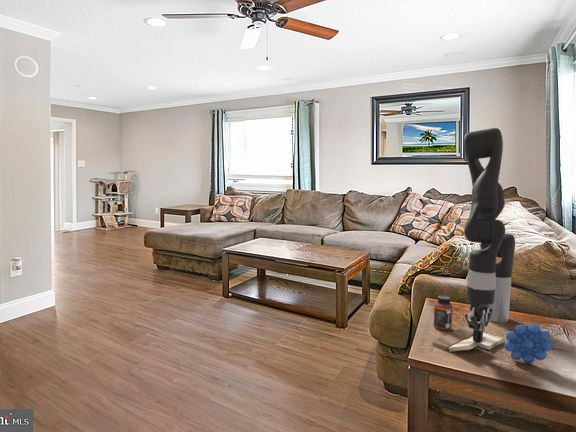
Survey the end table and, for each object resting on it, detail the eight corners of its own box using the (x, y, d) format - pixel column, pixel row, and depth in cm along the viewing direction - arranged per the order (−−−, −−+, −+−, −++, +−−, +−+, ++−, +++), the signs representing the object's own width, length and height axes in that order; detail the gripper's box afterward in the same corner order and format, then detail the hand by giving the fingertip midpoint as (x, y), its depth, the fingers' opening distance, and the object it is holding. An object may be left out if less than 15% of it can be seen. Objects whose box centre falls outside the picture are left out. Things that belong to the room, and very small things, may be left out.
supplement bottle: (453, 331, 126) (455, 300, 125) (435, 330, 128) (436, 299, 127) (449, 325, 132) (450, 295, 131) (432, 323, 133) (433, 294, 132)
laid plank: (464, 329, 128) (464, 326, 128) (479, 334, 124) (480, 331, 124) (432, 344, 116) (432, 341, 116) (448, 351, 112) (448, 347, 112)
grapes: (549, 362, 106) (552, 322, 104) (552, 372, 100) (555, 330, 99) (503, 352, 112) (506, 314, 110) (503, 361, 106) (506, 322, 105)
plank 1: (465, 343, 118) (464, 339, 118) (486, 340, 112) (484, 336, 113) (449, 351, 112) (448, 347, 112) (470, 349, 106) (468, 345, 107)
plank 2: (481, 335, 124) (481, 331, 124) (503, 341, 118) (503, 337, 118) (466, 342, 118) (466, 339, 118) (489, 349, 112) (489, 346, 112)
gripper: (478, 279, 115) (475, 332, 116) (457, 286, 107) (454, 342, 108) (504, 284, 109) (500, 340, 110) (483, 292, 101) (479, 351, 102)
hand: (477, 341), depth 109 cm, fingers closed
